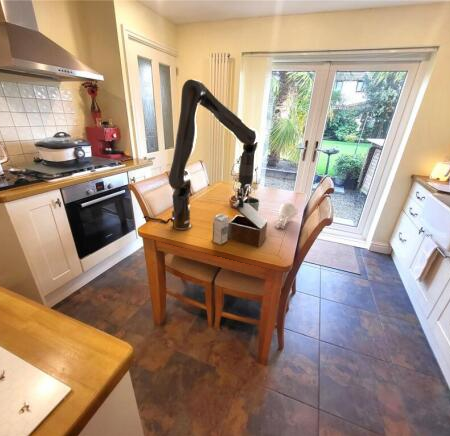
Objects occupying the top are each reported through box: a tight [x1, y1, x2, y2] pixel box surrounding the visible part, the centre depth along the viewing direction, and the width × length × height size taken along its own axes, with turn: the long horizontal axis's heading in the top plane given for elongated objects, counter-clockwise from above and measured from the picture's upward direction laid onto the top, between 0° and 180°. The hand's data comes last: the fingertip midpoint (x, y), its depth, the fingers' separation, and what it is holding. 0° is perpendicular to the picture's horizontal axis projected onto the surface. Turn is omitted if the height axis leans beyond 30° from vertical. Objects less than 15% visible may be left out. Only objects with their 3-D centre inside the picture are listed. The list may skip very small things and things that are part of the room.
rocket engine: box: [275, 202, 299, 230], centre depth 143 cm, size 12×12×18 cm
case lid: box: [231, 196, 269, 230], centre depth 119 cm, size 18×12×5 cm
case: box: [228, 214, 268, 248], centre depth 125 cm, size 18×12×10 cm, turn 64°
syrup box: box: [212, 213, 230, 246], centre depth 120 cm, size 6×6×14 cm
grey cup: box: [248, 197, 260, 212], centre depth 149 cm, size 10×10×12 cm
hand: (243, 204), depth 120 cm, fingers closed on case lid, 6 cm apart
